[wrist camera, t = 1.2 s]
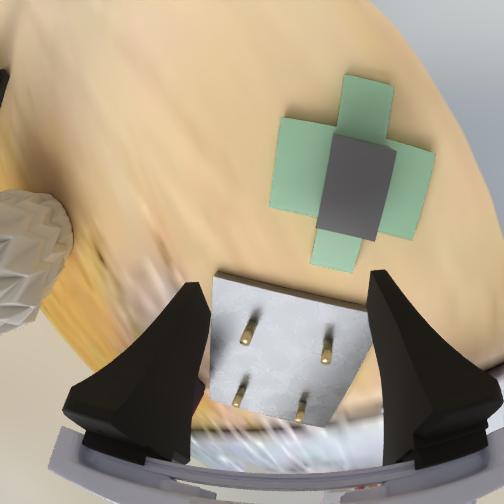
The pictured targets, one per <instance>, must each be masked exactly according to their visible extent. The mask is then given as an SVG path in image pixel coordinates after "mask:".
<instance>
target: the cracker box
mask: <svg viewBox="0 0 504 504" xmlns="http://www.w3.org/2000/svg"><path fill="white" fill-rule="evenodd" d="M375 486H378V484H376V485H370V486H363V487H355V488H345V489H334V490H323V495H322V500H321V504H340V497H341V496H342V495H344V493H346V492H347V491H353V490H359V489H365V488H370V487H375Z"/></svg>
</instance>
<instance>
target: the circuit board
mask: <svg viewBox="0 0 504 504" xmlns="http://www.w3.org/2000/svg"><path fill="white" fill-rule="evenodd" d="M393 91H394V86H392V85H388V84H384V83H381V82H377V81H373V80H369V79H364V78H360V77H356V76H351V75H346V74H344V79H343V87H342V94H341V101H340V108H339V115H338V121H337V127H336V126H331V125H326V124H321V123H315V122H310V121H304V120H298V119H292V118H285V117H281V122H280V129H279V137H278V144H277V152H276V159H275V167H274V174H273V181H272V189H271V196H270V203H269V208H274V209H279V210H283V211H288V212H293V213H298V214H303V215H307V216H312V217H316V218H317V223H316V228H318V229H317V234H316V238H315V243H314V247H313V252H312V256H311V261H310V264H312V265H316V266H321V267H325V268H330V269H334V270H338V271H343V272H347V273H353V270H354V266H355V263H356V260H357V256H358V253H359V250H360V246H361V243H362V239H366V240H370V241H374V242H375V239H376V235H377V232H381V233H385V234H389V235H393V236H397V237H400V238H404V239H408V240H412V239H413V236H414V233H415V230H416V227H417V224H418V221H419V217H420V214H421V210H422V207H423V203H424V200H425V196H426V192H427V189H428V185H429V181H430V177H431V173H432V168H433V164H434V159H435V155H436V154H435V153H432V152H429V151H426V150H423V149H420V148H417V147H414V146H411V145H407V144H404V143H400V142H397V141H393V140H390V139H386V135H387V130H388V124H389V118H390V112H391V105H392V98H393Z"/></svg>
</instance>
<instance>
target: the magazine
mask: <svg viewBox="0 0 504 504" xmlns="http://www.w3.org/2000/svg"><path fill="white" fill-rule="evenodd" d="M8 79H9V74H8V73H7V72H6V71H5V70H4V69H1V70H0V106H1V103H2V99H3V96H4V92H5V89H6V86H7V82H8Z"/></svg>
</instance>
